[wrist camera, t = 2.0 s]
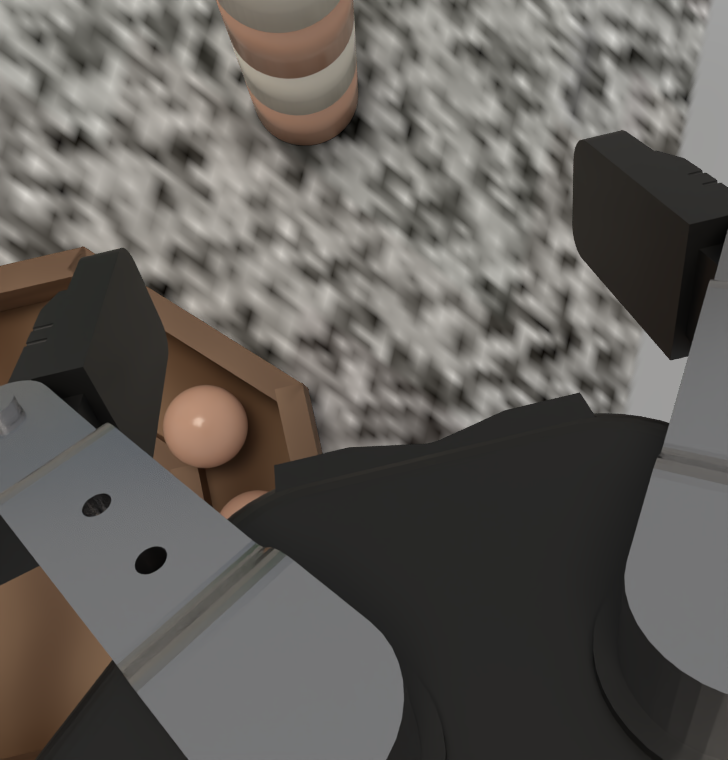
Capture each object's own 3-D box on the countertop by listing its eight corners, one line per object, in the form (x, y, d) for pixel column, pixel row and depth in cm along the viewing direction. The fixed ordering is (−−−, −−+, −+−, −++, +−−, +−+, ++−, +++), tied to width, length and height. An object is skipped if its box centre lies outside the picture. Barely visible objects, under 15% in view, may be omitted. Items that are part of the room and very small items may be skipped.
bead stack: (265, 156, 28) (202, -10, 18) (244, 59, 28) (171, -155, 18) (368, 132, 28) (363, -47, 18) (345, 35, 28) (327, -191, 18)
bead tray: (-198, 954, 25) (-276, 1023, 22) (-273, 357, 27) (-353, 346, 24) (405, 814, 25) (409, 863, 22) (275, 231, 27) (263, 204, 24)
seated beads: (-209, 796, 24) (-291, 844, 21) (-247, 494, 26) (-329, 500, 23) (335, 669, 24) (329, 700, 21) (272, 375, 26) (257, 365, 23)
